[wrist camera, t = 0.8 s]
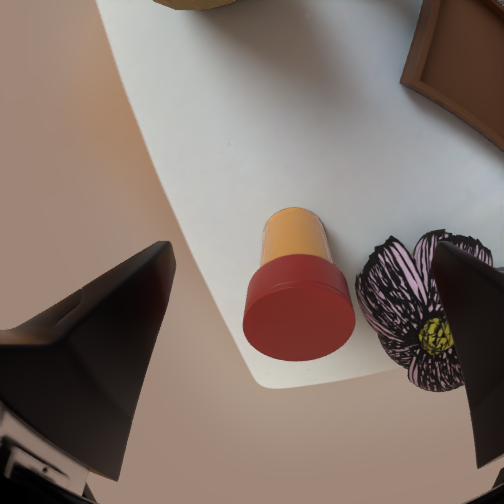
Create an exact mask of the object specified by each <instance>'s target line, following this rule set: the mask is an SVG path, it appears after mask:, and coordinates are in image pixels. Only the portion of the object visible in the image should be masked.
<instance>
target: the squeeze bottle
mask: <svg viewBox="0 0 504 504" xmlns="http://www.w3.org/2000/svg"><path fill="white" fill-rule="evenodd" d="M153 1H154V2H156V3H159V4H162V5H164V6H167V7H170V8H172V9H175V10H206V9H210V8H215V7H219V6H223V5H227V4H231V3H233V2H234V1H236V0H153Z"/></svg>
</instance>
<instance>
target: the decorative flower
mask: <svg viewBox="0 0 504 504" xmlns="http://www.w3.org/2000/svg"><path fill="white" fill-rule="evenodd" d="M439 241H448V242H450V243H452V244H454V245H456V246H457V247H459V248H461V249H463V250H465V251H466V252H468V253H470V254H472V255H473V256H475V257H477V258H479V259H480V260H482V261H484V262H485V263H487V264H489V265H490V266H492V267H493V260H492V255H491V250H489V249H488V248H486V247H484V246H483V245H482V243H481V242H480V241H479V240H478V238H477V239H476V240H475V239H473V238H472V237H471V236H469V237H465V236H462V235H456V236H455V235H452V233H447V232H445V229H441V230H435V231H431V232H429V233H426V234H425V235H423V236H422V237H421V238H420V240H419V241H418V243H417V245H416V246H415V249H414V253H413V256H412V257H411V255H410V253H409V252H408V251H407V249H406V248H405V247H404V245H403V244H402V243H401V242H400V241H399V240H398V239H396V238H394V237H393V236H390V237H389V239H388V240H386V242H385V243H384V244H383V245H380V246H376V247H375V252H373V253H372V254H371V255H369V260H368V262H367V263H366V265H365V266H364V269H363V273H362V274H361V273H360V275H359V276H358V277H357V274H356V281H355V289H356V295H357V299H358V302H359V305H360V308H361V311H362V313H363V315H364V317H365V318H366V320H367V321H368V323H369V324H370V325H371V327H372V328H373V329H374V330H375V331H376V332H377V333H378V337H379V340H380V342H381V344H382V346H383V348H384V349H385V351H386V353H387V354H388V355H389V356H390V357H391V359H393V360H394V361H395V362H396V363H397V364H399V365H401V366H403V367H404V368H406V369H408V379H409V380H410V381H411V382H412V383H413V384H415V385H416V386H417V387H420V388H421V389H424V390H427V391H433V392H444V391H450V390H452V389H456V388H458V387H460V386H463V385H465V384H464V379H463V375H462V371H461V367H460V363H459V359H458V356H457V352H456V348H455V345H454V342H453V338H452V335H451V332H450V329H449V326H448V322H447V319H446V317H445V314H444V311H443V308H442V305H441V301H440V298H439V294H438V290H437V287H436V283H435V279H434V276H433V273H432V269H431V260H432V257H433V254H434V251H435V247H436V244H437V243H438V242H439Z"/></svg>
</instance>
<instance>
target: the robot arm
mask: <svg viewBox="0 0 504 504" xmlns="http://www.w3.org/2000/svg"><path fill="white" fill-rule="evenodd" d="M431 269H432V273H433V276H434V279H435V283H436V287H437V290H438V294H439V298H440V301H441V305H442V308H443V311H444V314H445V317H446V319H447V322H448V326H449V329H450V332H451V335H452V338H453V342H454V345H455V348H456V352H457V356H458V359H459V363H460V367H461V371H462V375H463V379H464V384H465V388H466V393H467V397H468V402H469V408H470V411H471V412H470V415H471V421H472V427H473V434H474V442H475V452H476V463H477V468H478V469H479V468H481V467H484V466H486V465H488V464H490V463H492V462H494V461H496V460H498V459H500V458H502V457H504V274H503V273H502V272H500V271H498V270H497V269H495V268H494V267H492V266H490V265H489V264H487V263H485V262H484V261H482V260H480V259H479V258H477V257H475V256H473V255H472V254H470V253H468V252H466V251H465V250H463V249H461V248H459V247H457V246H456V245H454V244H452V243H450V242H448V241H439V242H438V243H437V244H436V247H435V251H434V254H433V257H432V260H431ZM175 270H176V260H175V256H174V252H173V247H172V244H171V242H170V241H158V242H156V243H154V244H152V245H151V246H149V247H147V248H146V249H144V250H142V251H141V252H139V253H137V254H135V255H134V256H132V257H131V258H129V259H127V260H126V261H124V262H122V263H120V264H119V265H117V266H116V267H114V268H112V269H111V270H109V271H107V272H106V273H104V274H103V275H101V276H99V277H98V278H96V279H95V280H93V281H91V282H90V283H88V284H87V285H85V286H84V287H82V289H79V290H77V291H76V292H74V293H73V294H71V295H69V296H68V297H66V298H65V299H63V300H62V301H60V302H58V303H57V304H55V305H53V306H52V307H50V308H48V309H47V310H45V311H43V312H42V313H40V314H38V315H37V316H35V317H33V318H32V319H30V320H28V321H26V322H25V323H23V324H21V325H19V326H17V327H15V328H12V329H8V330H0V504H98V503H97V502H96V500H95V498H94V496H93V494H92V492H91V490H90V488H89V487H88V485H87V483H86V480H87V476H88V473H89V471H90V472H93V473H95V474H98V475H100V476H103V477H105V478H108V479H111V480H114V481H118V479H119V475H120V470H121V466H122V462H123V457H124V453H125V449H126V445H127V441H128V437H129V433H130V429H131V425H132V421H133V417H134V413H135V410H136V406H137V402H138V399H139V395H140V392H141V388H142V385H143V381H144V378H145V374H146V371H147V368H148V365H149V361H150V358H151V355H152V352H153V349H154V345H155V342H156V339H157V336H158V333H159V330H160V327H161V324H162V321H163V318H164V315H165V312H166V309H167V306H168V302H169V297H170V293H171V288H172V284H173V279H174V274H175ZM462 504H504V468H502V469H501V470H500V472H499V475H498V477H497V479H496V481H495V483H494V485H493V487H492V489H491V490H489V491H488V492H486V493H484V494H481V495H480V496H477V497H475V498H473V499H471V500H469V501H467V502H464V503H462Z"/></svg>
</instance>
